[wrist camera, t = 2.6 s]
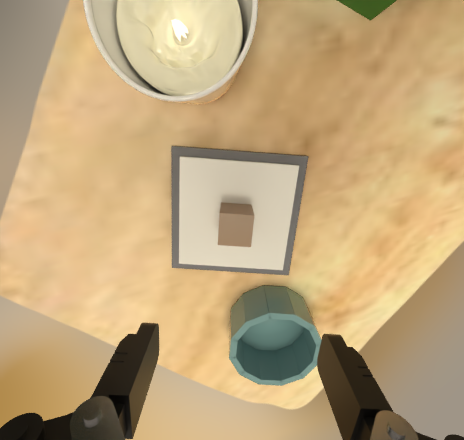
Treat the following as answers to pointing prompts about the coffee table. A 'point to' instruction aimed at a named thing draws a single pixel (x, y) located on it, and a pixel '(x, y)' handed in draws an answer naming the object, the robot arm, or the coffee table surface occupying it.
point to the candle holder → (174, 44)
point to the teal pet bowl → (272, 336)
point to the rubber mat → (239, 156)
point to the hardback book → (368, 6)
